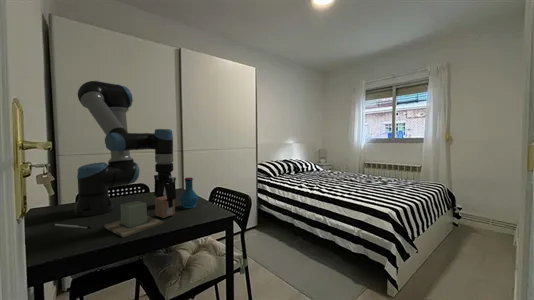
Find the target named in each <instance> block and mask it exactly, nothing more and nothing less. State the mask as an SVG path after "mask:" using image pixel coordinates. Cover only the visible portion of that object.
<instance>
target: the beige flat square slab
mask: <svg viewBox="0 0 534 300" xmlns="http://www.w3.org/2000/svg"><path fill="white" fill-rule="evenodd" d="M163 224H164V221H163V220H161V219H158V218H155V217H152V216H150V215H147V222H146V223H143V224H140V225H136V226H133V227H130V228H129V227H127V226H125V225H123V224H121V220H118V221H114V222H111V223H107V224H104V225H103V228H105V229H107V230H108V231H110V232H111V233H114V234H115V235H118V236H120V237H122V238H124V237H125V238H126V237H128V236H131V235H133V234H137V233H140V232H143V231H146V230H149V229H152V228H156V227H159V226H161V225H163Z"/></svg>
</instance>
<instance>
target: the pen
mask: <svg viewBox="0 0 534 300" xmlns="http://www.w3.org/2000/svg"><path fill="white" fill-rule="evenodd" d="M52 226H54V227H64V228H65V227H66V228H77V229H92V227H90V226H89V225H81V224H80V225H79V224H78V225H73V224H62V223H61V224H60V223H55V224H54V223H53V224H52Z"/></svg>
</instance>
